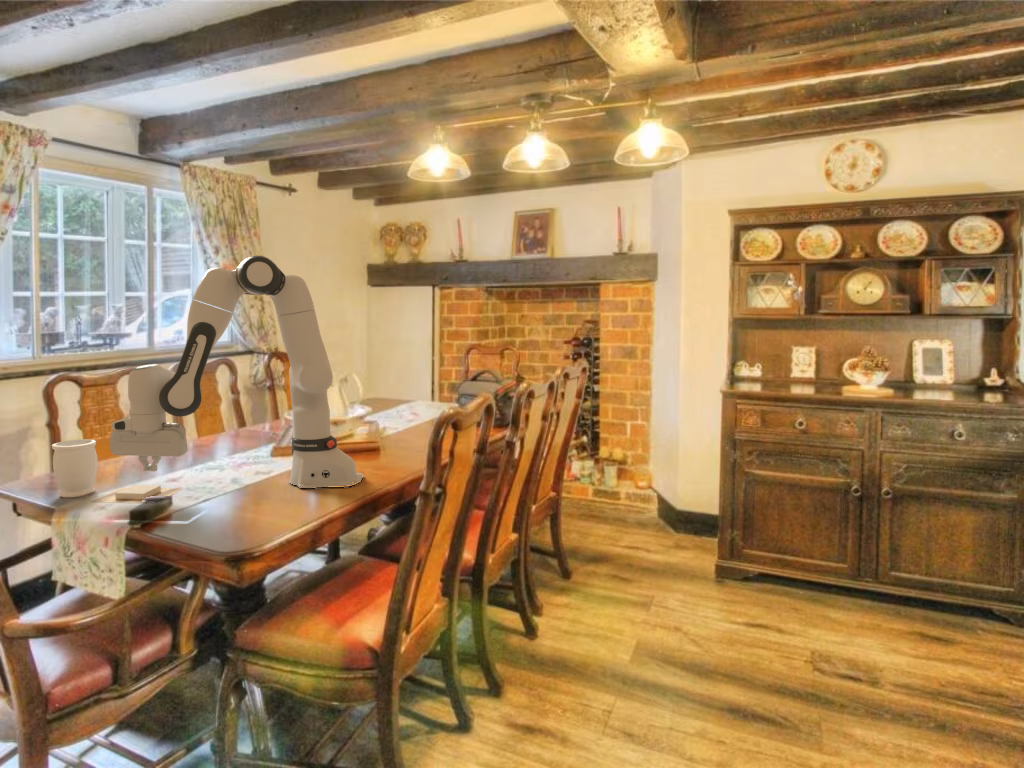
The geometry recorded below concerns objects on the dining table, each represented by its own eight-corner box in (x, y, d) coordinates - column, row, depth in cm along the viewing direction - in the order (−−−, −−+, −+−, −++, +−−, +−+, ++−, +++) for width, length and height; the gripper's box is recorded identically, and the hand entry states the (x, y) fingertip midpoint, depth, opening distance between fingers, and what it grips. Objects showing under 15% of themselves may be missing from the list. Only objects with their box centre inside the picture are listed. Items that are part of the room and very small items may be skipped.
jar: (73, 488, 184) (70, 438, 183) (107, 488, 184) (104, 439, 182) (45, 499, 174) (41, 446, 172) (82, 499, 173) (78, 447, 172)
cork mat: (183, 490, 183) (183, 488, 183) (155, 505, 169) (154, 503, 169) (123, 489, 184) (123, 487, 184) (90, 504, 170) (89, 502, 170)
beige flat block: (160, 485, 180) (133, 485, 180) (143, 493, 172) (115, 493, 172) (161, 491, 180) (133, 490, 180) (144, 499, 172) (115, 499, 172)
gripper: (191, 421, 177) (193, 469, 178) (119, 419, 177) (122, 467, 179) (178, 425, 170) (180, 474, 172) (105, 423, 171) (107, 472, 172)
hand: (150, 470), depth 175 cm, fingers closed
